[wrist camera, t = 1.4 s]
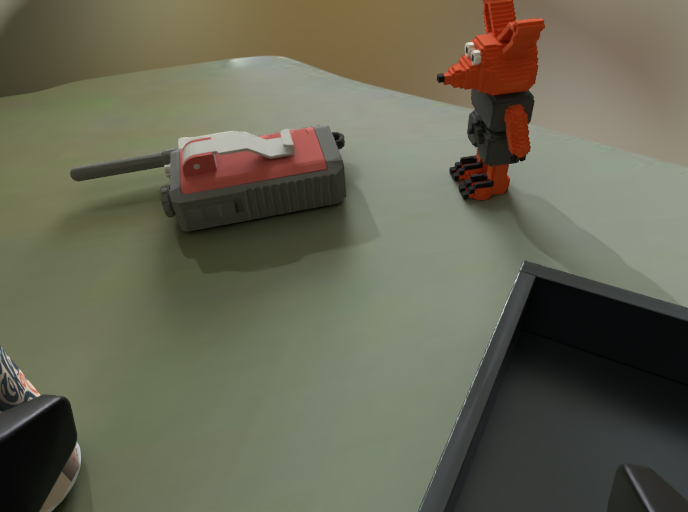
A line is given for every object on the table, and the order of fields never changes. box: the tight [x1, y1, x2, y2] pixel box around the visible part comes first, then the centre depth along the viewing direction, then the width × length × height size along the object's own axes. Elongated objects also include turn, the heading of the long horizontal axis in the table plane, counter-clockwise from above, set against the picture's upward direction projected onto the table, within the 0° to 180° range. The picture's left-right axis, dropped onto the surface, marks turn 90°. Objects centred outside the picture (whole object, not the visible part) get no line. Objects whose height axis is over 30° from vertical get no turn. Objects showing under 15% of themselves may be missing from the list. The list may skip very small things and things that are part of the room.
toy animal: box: [437, 0, 545, 201], centre depth 35 cm, size 8×6×12 cm
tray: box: [418, 261, 688, 512], centre depth 21 cm, size 16×16×5 cm
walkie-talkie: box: [70, 125, 346, 232], centre depth 38 cm, size 9×4×20 cm
